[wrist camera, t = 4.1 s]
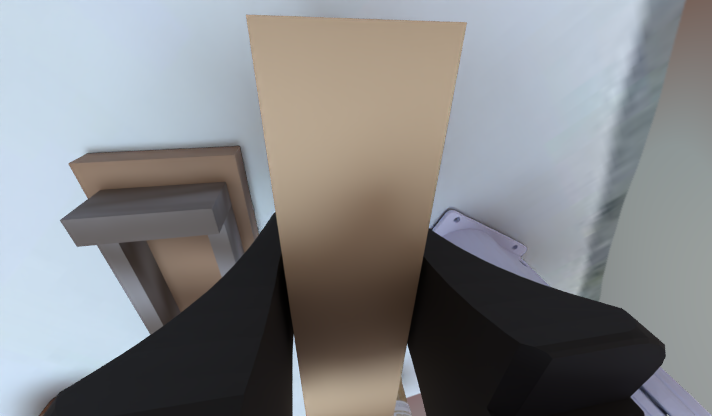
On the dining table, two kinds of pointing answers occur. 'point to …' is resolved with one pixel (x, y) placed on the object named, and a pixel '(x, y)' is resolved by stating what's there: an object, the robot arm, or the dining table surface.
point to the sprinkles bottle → (401, 403)
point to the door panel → (353, 188)
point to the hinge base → (164, 222)
